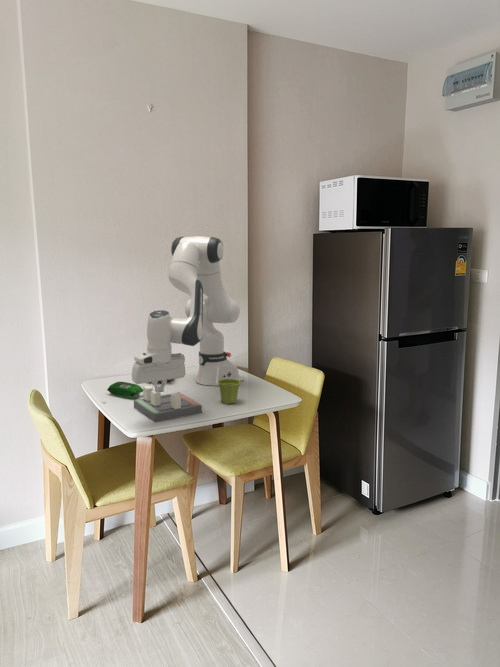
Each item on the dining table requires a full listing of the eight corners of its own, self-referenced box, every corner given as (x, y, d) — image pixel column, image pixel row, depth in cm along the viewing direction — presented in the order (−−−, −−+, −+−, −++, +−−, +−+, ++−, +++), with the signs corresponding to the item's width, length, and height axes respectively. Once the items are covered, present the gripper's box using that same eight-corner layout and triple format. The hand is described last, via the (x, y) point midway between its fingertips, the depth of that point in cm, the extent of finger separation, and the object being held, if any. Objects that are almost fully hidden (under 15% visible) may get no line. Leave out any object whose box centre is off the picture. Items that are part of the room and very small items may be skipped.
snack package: (134, 401, 218) (134, 389, 217) (105, 394, 225) (105, 382, 224) (145, 396, 224) (145, 385, 223) (117, 390, 231) (117, 379, 230)
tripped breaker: (176, 405, 203) (176, 393, 202) (180, 408, 201) (180, 395, 200) (170, 406, 202) (170, 394, 201) (174, 409, 199) (174, 396, 198)
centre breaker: (156, 402, 206) (156, 390, 205) (160, 405, 203) (160, 392, 202) (150, 403, 205) (150, 391, 204) (154, 406, 202) (154, 393, 201)
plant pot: (220, 397, 224) (220, 377, 223) (242, 399, 223) (242, 379, 221) (215, 404, 215) (215, 384, 214) (238, 406, 214) (238, 385, 212)
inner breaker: (149, 397, 212) (149, 385, 211) (152, 400, 209) (152, 387, 208) (143, 398, 210) (143, 386, 209) (147, 401, 208) (146, 388, 207)
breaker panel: (179, 399, 221) (179, 392, 220) (201, 412, 206) (201, 404, 205) (133, 407, 210) (133, 400, 209) (154, 422, 194) (154, 414, 194)
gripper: (180, 350, 202) (180, 385, 204) (129, 356, 190) (130, 393, 193) (188, 354, 197) (188, 390, 199) (136, 360, 185) (137, 398, 188)
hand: (159, 391), depth 196 cm, fingers closed
